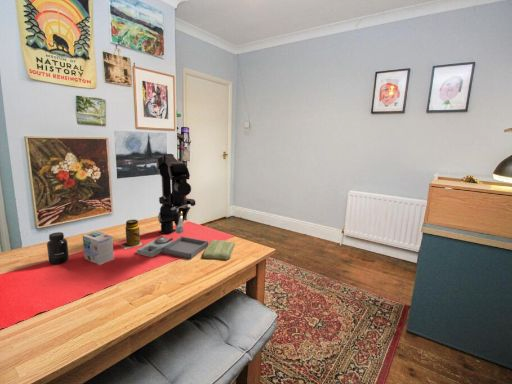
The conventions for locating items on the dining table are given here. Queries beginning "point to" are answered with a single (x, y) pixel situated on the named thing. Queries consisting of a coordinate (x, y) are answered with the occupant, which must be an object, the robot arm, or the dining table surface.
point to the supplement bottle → (57, 248)
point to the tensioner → (154, 246)
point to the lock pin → (180, 224)
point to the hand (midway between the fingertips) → (179, 223)
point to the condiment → (132, 235)
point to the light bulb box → (98, 247)
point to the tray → (185, 247)
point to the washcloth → (219, 249)
